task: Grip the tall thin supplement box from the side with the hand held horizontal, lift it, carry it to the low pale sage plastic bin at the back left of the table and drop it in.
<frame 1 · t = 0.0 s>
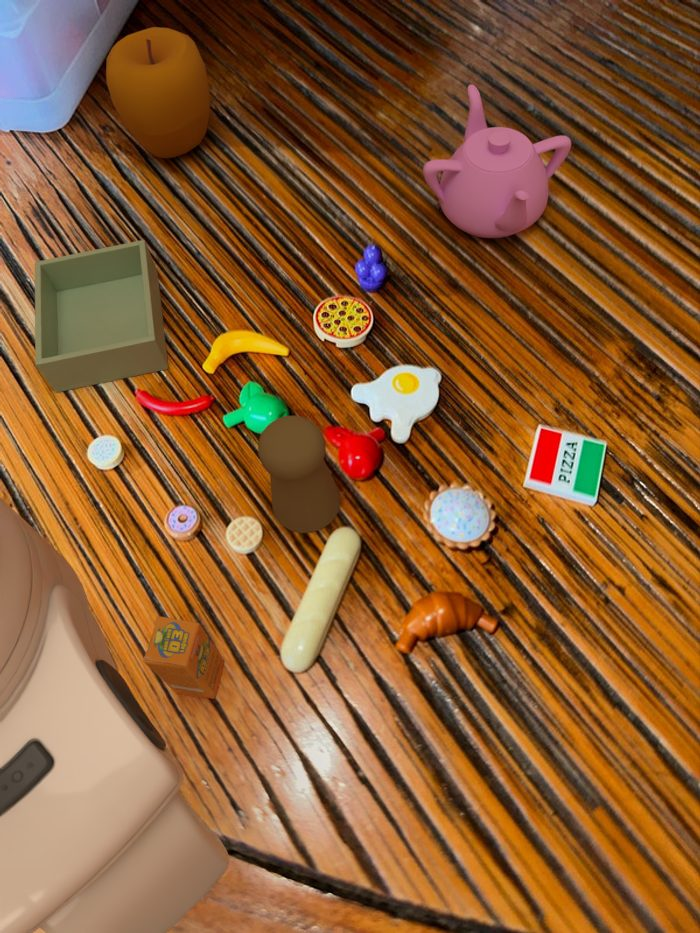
hand: (94, 722, 36), 23 cm above the table, tool pointing down, fingers open, 8 cm apart
bin: (108, 329, 77), on the table
cork: (306, 502, 67), on the table
apple: (178, 147, 91), on the table
supplement box: (203, 677, 60), on the table
teapot: (490, 206, 82), on the table
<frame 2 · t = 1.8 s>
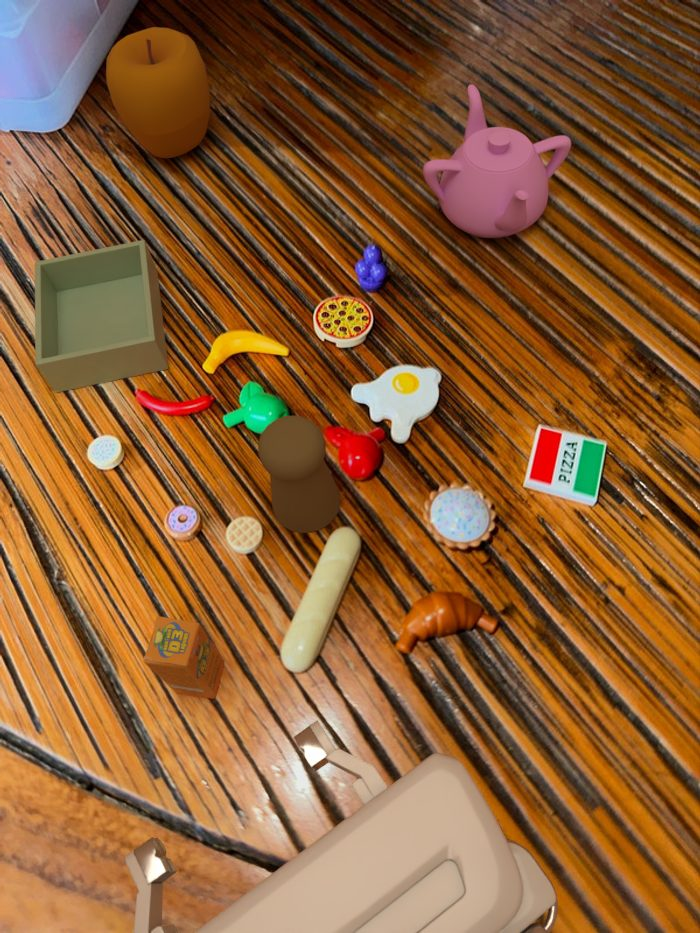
hand: (226, 786, 38), 19 cm above the table, tool horizontal, fingers open, 8 cm apart
nothing on the table moved.
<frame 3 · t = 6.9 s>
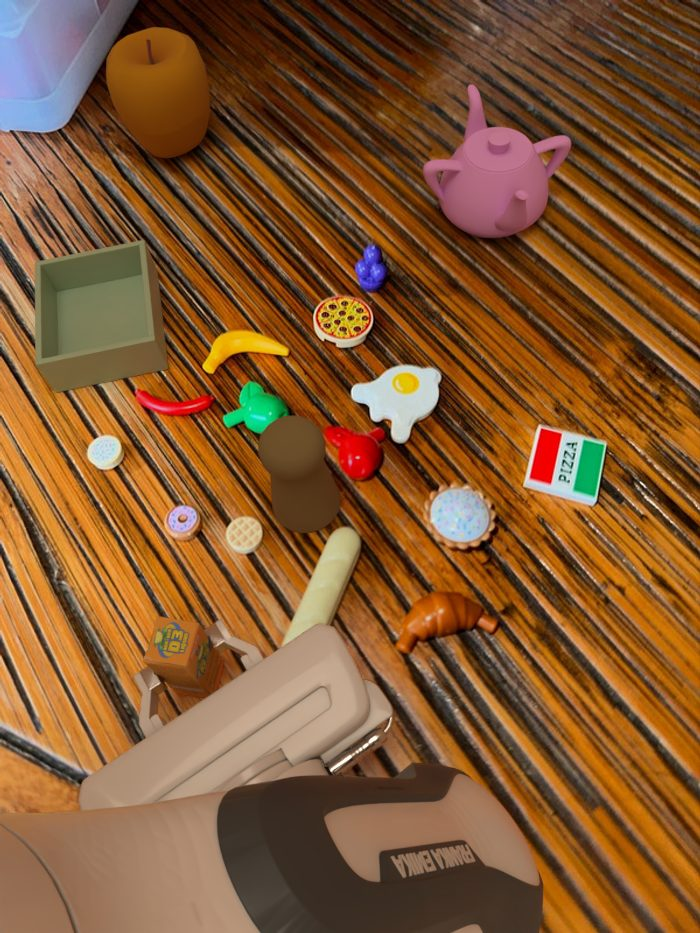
hand: (179, 648, 55), 6 cm above the table, tool horizontal, fingers closed on supplement box, 4 cm apart
supplement box: (203, 677, 60), on the table, touching gripper
everything else where it was.
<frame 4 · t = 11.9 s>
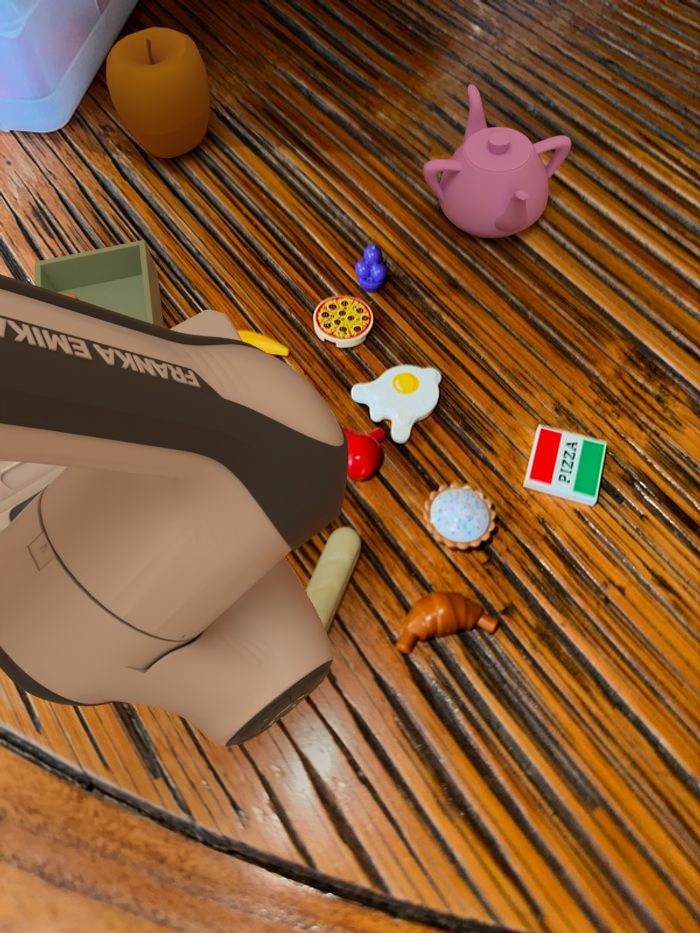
hand: (64, 344, 52), 19 cm above the table, tool horizontal, fingers closed on supplement box, 4 cm apart
supplement box: (99, 399, 57), point 13 cm above the table, touching gripper
everything else where it was.
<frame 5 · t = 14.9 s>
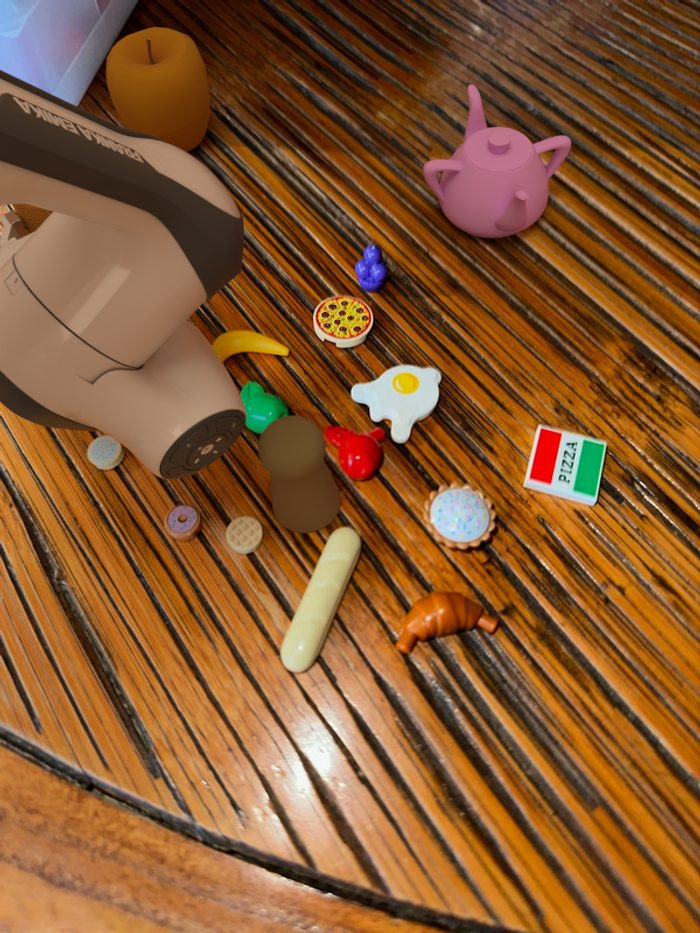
hand: (40, 204, 64), 16 cm above the table, tool horizontal, fingers closed on supplement box, 4 cm apart
supplement box: (72, 259, 69), point 10 cm above the table, touching gripper
everything else where it was.
when the fingers open (8 cm above the table, at t = 17.3 s): supplement box drops 2 cm, resting on bin.
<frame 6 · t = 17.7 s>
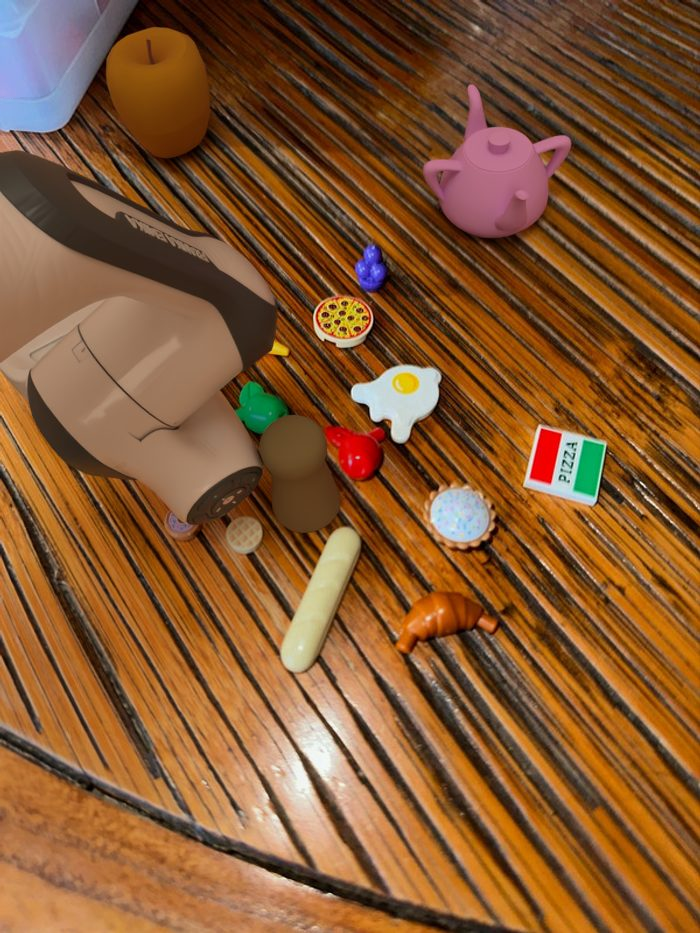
hand: (73, 268, 71), 8 cm above the table, tool horizontal, fingers open, 8 cm apart
cork: (306, 502, 67), on the table, touching arm
supplement box: (111, 325, 77), resting on bin
everything else where it was.
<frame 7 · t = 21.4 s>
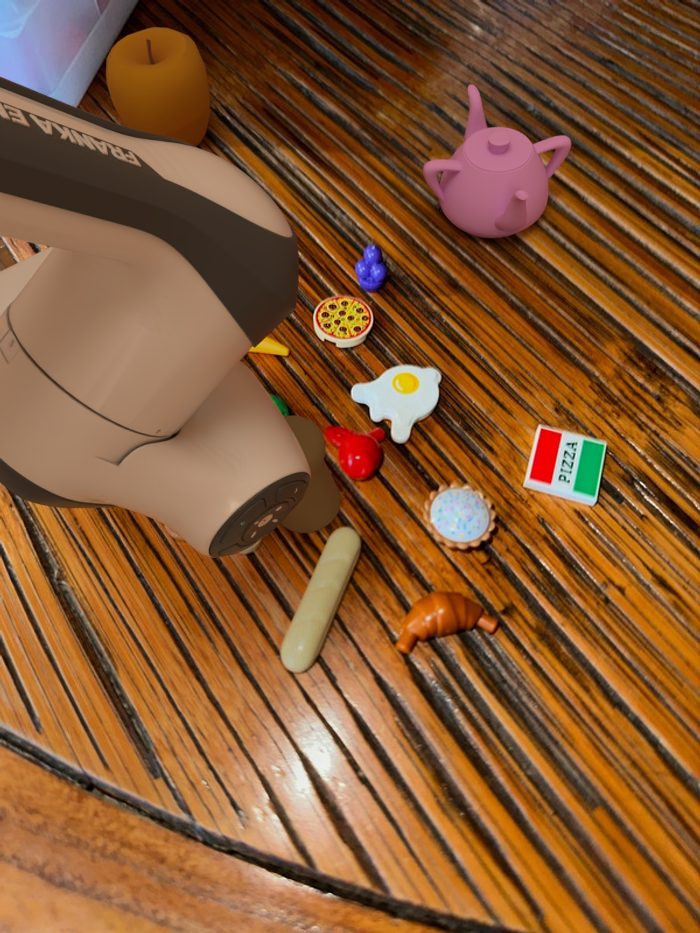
hand: (53, 214, 54), 22 cm above the table, tool horizontal, fingers open, 8 cm apart
cork: (306, 502, 67), on the table
everything else where it was.
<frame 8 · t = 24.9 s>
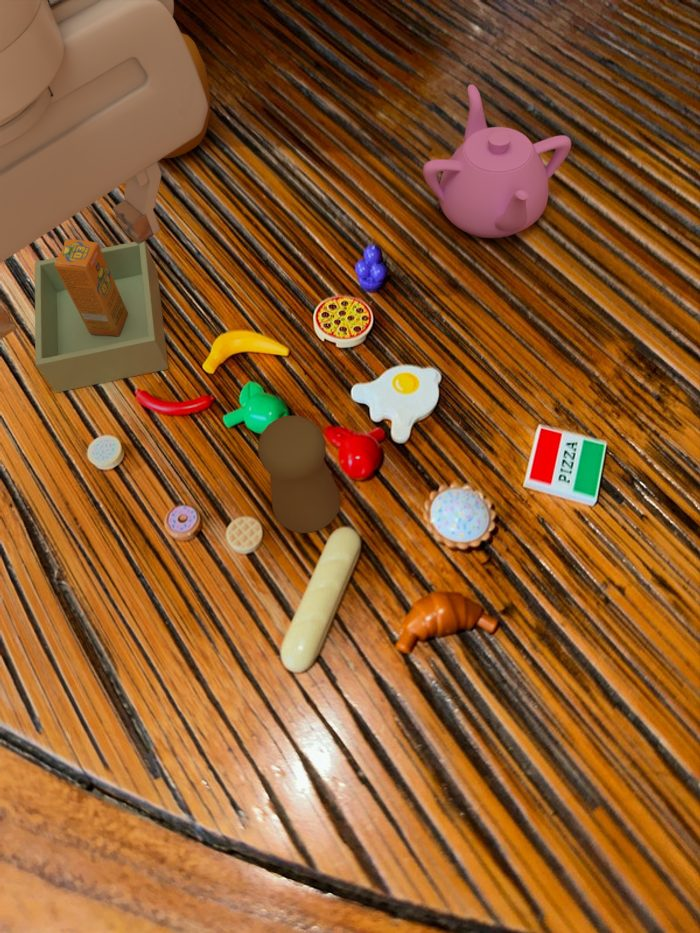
hand: (73, 280, 41), 29 cm above the table, tool pointing down, fingers open, 8 cm apart
nothing on the table moved.
at the end: supplement box inside the target area in the bin (0.5 cm from its centre), point 0.4 cm above the bin's base; the gripper is holding nothing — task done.
